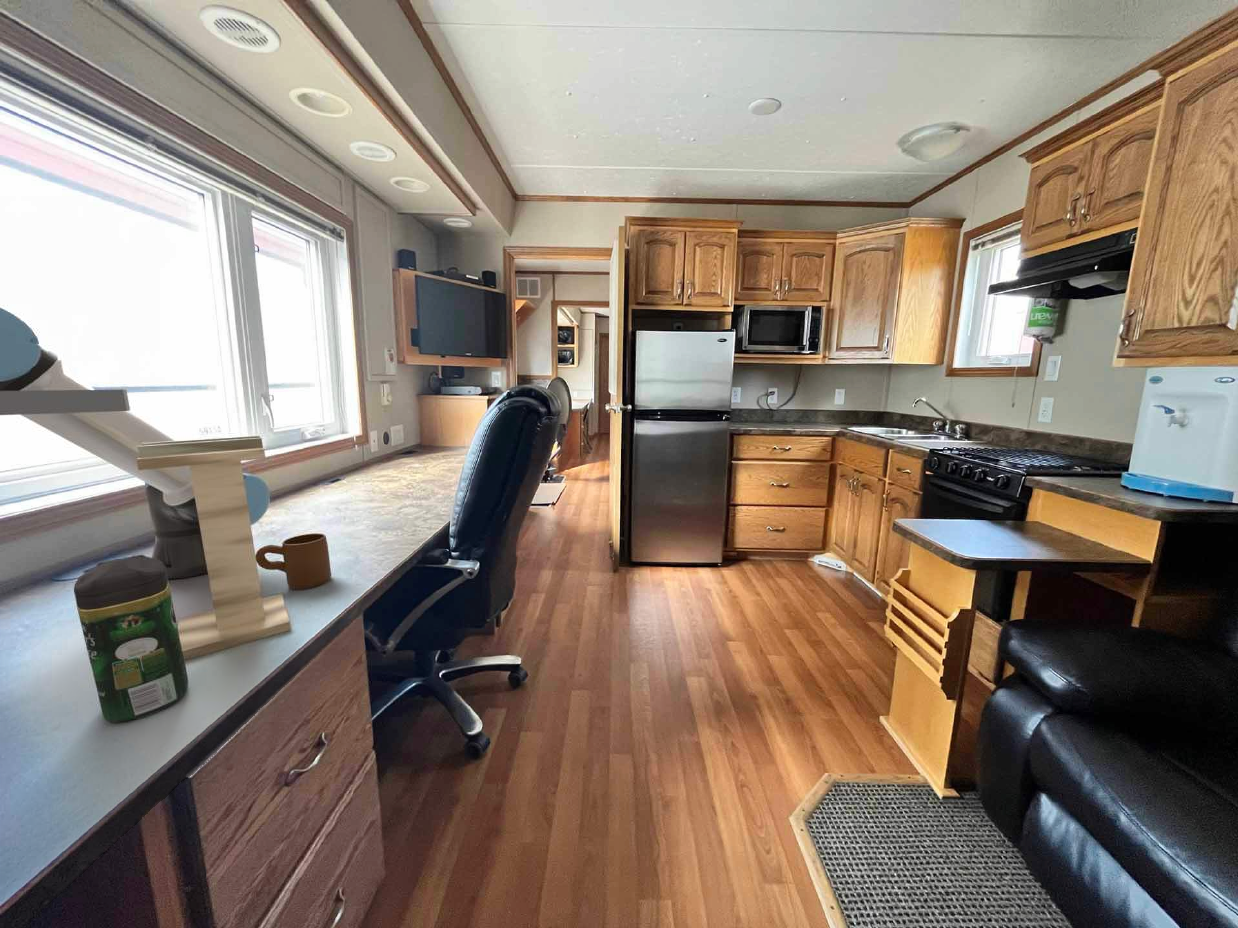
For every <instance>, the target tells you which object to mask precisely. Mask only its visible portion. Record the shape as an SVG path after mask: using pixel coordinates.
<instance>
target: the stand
mask: <svg viewBox="0 0 1238 928" xmlns="http://www.w3.org/2000/svg"><path fill="white" fill-rule="evenodd" d="M137 447H138V453H139V458H138V459H136V460H137V465H138V470H146V469H157V468H168V467H179V466H189V467H190V473H191V478H192V484H193V490H194V496H195V501H196V507H197V513H198V519H199V524H200V530H201V536H202V542H203V547H204V553H205V559H206V565H207V570H208V573H207V574H208V575H207V576H208V579H209V580H208V581H209V587H210V592H211V593H210V594H211V599H212V604H213V610H209V611H205V612H201V613H196V614H192V615H188V616H184V617H181V618H180V617H179V620H178V623H177V627H178V632H179V638H180V643H181V648H182V652H183V657H184V661H188V660H191V659H194V658H197V657H201V656H205V655H208V654H212V653H216V652H218V651H222V650H226V649H229V648H233V647H237V646H240V645H243V644H247V643H251V642H254V641H258V640H262V639H264V638H267V637H271V636H272V637H273V636H274V635H278V634H281V633H282V634H283V633H286V632H290V631H291V622H290V619H289V614H288V611H287V607H286V604H285V601H284V600H285V599H284V598H283V594H282V593H279V594H276V595H275V594H274V595H270V596H266V597H263V595H262V590H261V583H260V576H259V570H258V563H257V562H256V556H255V555H256V549H255V544H254V537H253V531H252V525H251V524H250V517H249V511H248V504H247V498H246V491H245V485H244V478H243V473H244V472H243V467H242V462H244V461H254V460H255V461H256V460H265V459H267V458H266V453H265V452H266V451H265V448H264V446H263V439H262V437H261V436H260V435H245V436H244V435H243V436H231V437H217V438H215V437H214V438H202V439H201V438H199V439H187V440H184V439H183V440H174V441H167V442H152V443H142V446H137Z"/></svg>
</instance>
